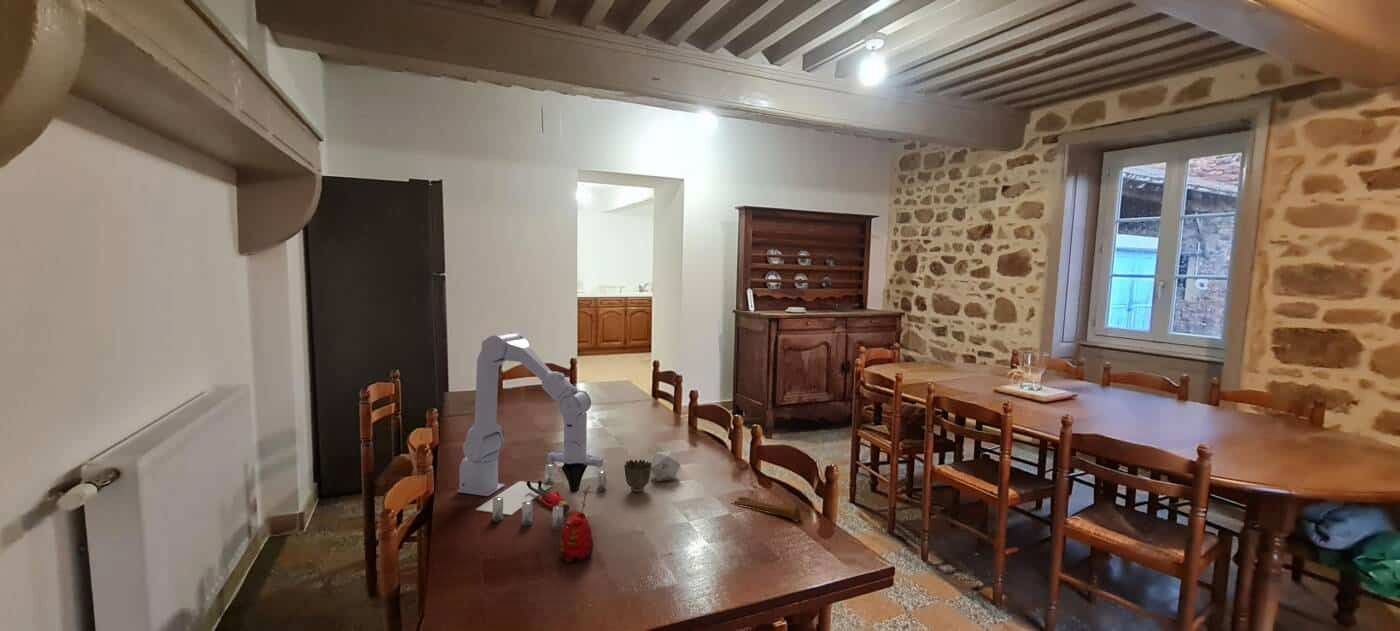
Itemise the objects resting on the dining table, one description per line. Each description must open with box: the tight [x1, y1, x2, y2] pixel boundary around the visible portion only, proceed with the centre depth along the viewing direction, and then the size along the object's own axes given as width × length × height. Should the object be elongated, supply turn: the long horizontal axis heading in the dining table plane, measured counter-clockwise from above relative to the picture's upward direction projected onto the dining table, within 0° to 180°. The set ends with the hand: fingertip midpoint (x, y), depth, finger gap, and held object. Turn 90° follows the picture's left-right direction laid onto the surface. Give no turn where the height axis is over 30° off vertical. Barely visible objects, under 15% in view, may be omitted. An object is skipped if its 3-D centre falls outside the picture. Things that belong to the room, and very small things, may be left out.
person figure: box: [526, 480, 570, 514], centre depth 149 cm, size 5×4×18 cm
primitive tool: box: [734, 496, 802, 522], centre depth 149 cm, size 19×6×4 cm, turn 55°
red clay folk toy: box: [559, 485, 594, 564], centre depth 122 cm, size 8×7×15 cm
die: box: [650, 450, 682, 482], centre depth 169 cm, size 8×9×10 cm
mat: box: [475, 480, 552, 517], centre depth 152 cm, size 10×20×1 cm, turn 166°
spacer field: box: [492, 463, 607, 531], centre depth 149 cm, size 18×27×5 cm
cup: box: [623, 459, 652, 494], centre depth 158 cm, size 8×7×8 cm
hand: (574, 491), depth 148 cm, fingers closed
